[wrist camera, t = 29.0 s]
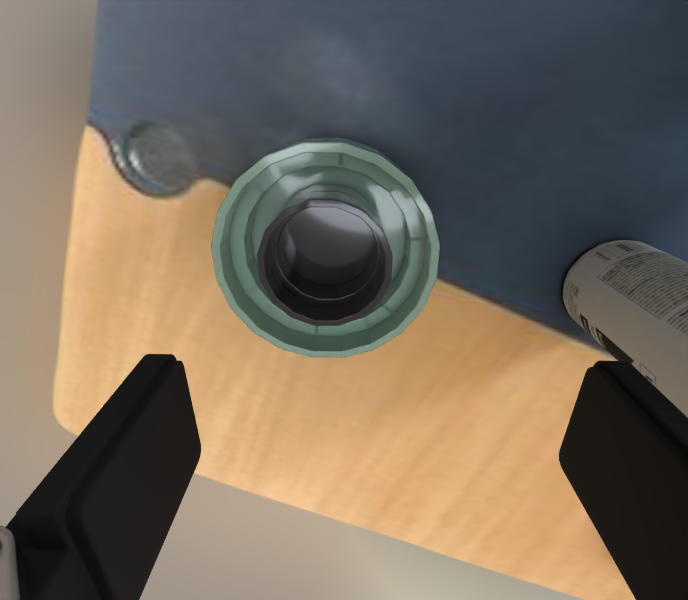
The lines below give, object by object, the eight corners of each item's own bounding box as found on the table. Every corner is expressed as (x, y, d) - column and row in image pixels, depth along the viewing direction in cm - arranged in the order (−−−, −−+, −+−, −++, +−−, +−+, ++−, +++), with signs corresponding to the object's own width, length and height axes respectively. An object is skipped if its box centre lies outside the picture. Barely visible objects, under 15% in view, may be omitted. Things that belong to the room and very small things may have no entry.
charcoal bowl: (268, 183, 25) (250, 199, 21) (387, 183, 25) (395, 199, 20) (277, 291, 28) (263, 326, 24) (383, 291, 28) (389, 326, 24)
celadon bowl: (220, 137, 25) (194, 142, 20) (434, 136, 24) (451, 142, 20) (244, 323, 30) (227, 357, 26) (418, 324, 30) (428, 358, 26)
